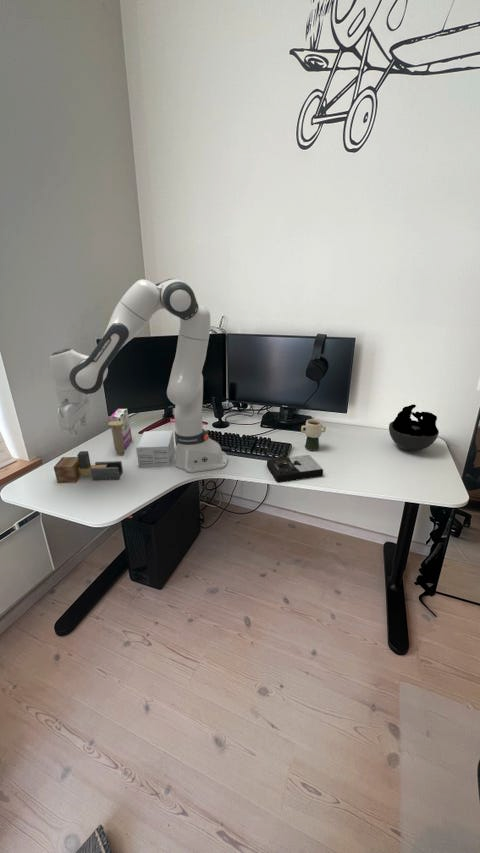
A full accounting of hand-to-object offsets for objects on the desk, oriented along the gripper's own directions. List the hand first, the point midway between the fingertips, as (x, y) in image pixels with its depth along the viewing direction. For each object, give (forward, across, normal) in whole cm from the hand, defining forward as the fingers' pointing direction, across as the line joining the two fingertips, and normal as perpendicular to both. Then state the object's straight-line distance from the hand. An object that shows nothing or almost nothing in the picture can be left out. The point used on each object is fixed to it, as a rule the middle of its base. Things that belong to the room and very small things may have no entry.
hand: (79, 430), depth 131 cm
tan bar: (+18, 0, +1) cm, 18 cm away
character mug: (+22, +19, -93) cm, 98 cm away
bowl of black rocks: (+23, +16, -137) cm, 140 cm away
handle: (+20, +19, -7) cm, 29 cm away
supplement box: (+21, +15, -24) cm, 35 cm away
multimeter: (+22, -1, -81) cm, 84 cm away
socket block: (+20, 0, +7) cm, 21 cm away
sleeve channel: (+20, 0, -7) cm, 21 cm away
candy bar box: (+20, +28, -6) cm, 35 cm away
